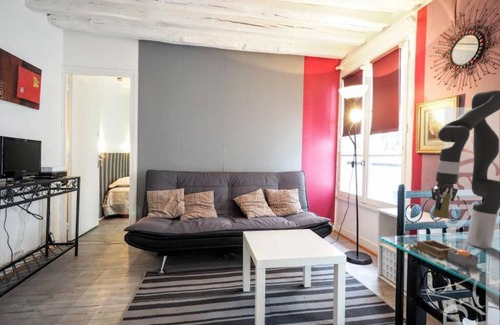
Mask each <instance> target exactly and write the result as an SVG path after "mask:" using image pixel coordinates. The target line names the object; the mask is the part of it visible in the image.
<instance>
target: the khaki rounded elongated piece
mask: <svg viewBox="0 0 500 325" xmlns="http://www.w3.org/2000/svg"><path fill="white" fill-rule="evenodd" d="M439 195H443V194H440V193H439ZM440 198H441V197H440ZM450 198H452V197H451V195H450V193H446V195H445V197H444V198H443V201H442V206H441V210H440V211H439V210H438V209H436V210H435V206H436V203H435V204H434V208H433V209H432V210H433V211H432V214H431V215H432V216H433V217H436V218H441V219H449V217H450V216H449V215H450V211H449V210H450V203H449V200H450Z"/></svg>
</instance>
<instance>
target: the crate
mask: <svg viewBox="0 0 500 325" xmlns="http://www.w3.org/2000/svg"><path fill="white" fill-rule="evenodd" d="M412 248H415V249H417V250H420V251H421V252H424V253H426V254H428V255H430V256H432V257H434V256H435V258H437V259H439V258H440V259H447V256H448V251H450V250H456V248H454V247H451V246H450V245H447V244H444V243H441V242H438V241H436V240H433V239H430V240H429V239H427V240H417V241H416V243H415V244H413V245H412Z"/></svg>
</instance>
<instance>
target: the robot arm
mask: <svg viewBox="0 0 500 325" xmlns="http://www.w3.org/2000/svg"><path fill="white" fill-rule="evenodd" d="M499 110H500V90H489V91H484V92H483V91H482V92H476V93H474V94H473V95H472V96H471V109H469V110H468V111H466V112H464V113H462V114H461V115H460V116H458V117H457V119H455V120H453V121H450V122H448V123H447V124H445V125H443V126H442V127H441V128H440V129H439V131H438V133H437V136H438V139H439V141H441V142H443V143H444V142H445V143H453V144H452V145H451V146H448V147H442V149H441V150H440V154H439V160H438V164H437V170H436V174H435V182H436V183H437V184H436V186H435V187H433V186H432V187H431V198H432V200H433V201H434V202H435V204H436V206H435V205H434V207H435V210H436V209H438V210H439V211H440V210H441V206H442V201H443V198H444V197H445V195H446V193H450V195H451V198H450V200H449V204H450V203H451V202H454V200H455V198H456V195H457V193H458V191H459V189H458V188H455V186H454V185H457V184H458V178H459V172H460V161H461V155H462V152H463V151H464V148H465V146H466V143H467V142H468V140H469V138H470V134H471V133H470V131H472V130H473V148H472V149H473V167H472V168H473V170H472V177H471V178H472V179H471V191H472V193H473V194H474V195H475V196H477V197H481V198H484V199H483V201H482V202H479V203H477V202H476V203H473V205H472V209H471V213H470V214H471V215H470V220H469V221H470V222H469V227H468V233H467V237H466V238H467V239H466V243H467V244H468V245H471V246H474V247H477V248H480V249H484V250H485V249H486V250H488V249H489V250H490V249H492V247H491V246H493V239H494V235H495V230H496V229H495V228H496V222H497V216H498V212H499V209H500V181H499V180H495V179H491V178H490V179H489V178H488V170H489V167H490V166H491V164H492V163H493V162H494V161H495V159H496V158H497V157H498V155H499V152H500V138H499V136H498V134H497V133H496V132H495V130H493V129H492V127H491V126H490V125H489V123H488V122H487V119H486V118H488V117H490V116H491V115H493V114H494V113H496V112H498V111H499ZM439 193H440V194H443V195H439ZM440 197H441V198H440Z"/></svg>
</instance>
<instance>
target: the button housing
mask: <svg viewBox="0 0 500 325" xmlns="http://www.w3.org/2000/svg"><path fill="white" fill-rule="evenodd" d="M446 260H447V261H448V262H450V263H453V264H456V265H457V266H459V267H461V268H465V269H469V268H476V267H478V262H479V256H476V255H474V254H472V253H470V256H469V257H464V256H462V255H460V254H457V249H455V250H450V251H448V256H447V258H446Z"/></svg>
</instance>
